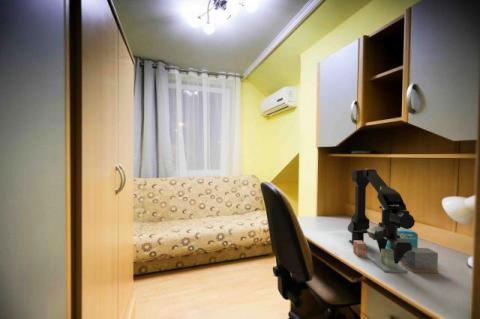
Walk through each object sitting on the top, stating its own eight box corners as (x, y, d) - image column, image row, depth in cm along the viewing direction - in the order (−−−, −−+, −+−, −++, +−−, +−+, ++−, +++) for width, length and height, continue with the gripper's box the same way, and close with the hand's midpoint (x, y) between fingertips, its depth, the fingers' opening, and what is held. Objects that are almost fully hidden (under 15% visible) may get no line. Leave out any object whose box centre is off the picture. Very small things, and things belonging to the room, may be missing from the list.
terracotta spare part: (353, 252, 109) (353, 240, 109) (361, 252, 109) (361, 240, 109) (357, 256, 105) (357, 243, 105) (366, 256, 105) (366, 243, 105)
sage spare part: (380, 262, 97) (381, 248, 97) (390, 262, 97) (390, 249, 97) (386, 267, 93) (387, 252, 93) (396, 267, 93) (396, 252, 93)
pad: (371, 261, 99) (371, 259, 99) (392, 262, 99) (392, 260, 99) (384, 272, 90) (384, 270, 90) (407, 272, 90) (407, 270, 90)
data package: (388, 255, 107) (389, 230, 107) (384, 251, 111) (385, 227, 111) (417, 258, 104) (418, 232, 104) (412, 254, 108) (412, 229, 108)
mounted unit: (401, 264, 97) (401, 245, 97) (424, 265, 97) (425, 246, 97) (413, 272, 90) (413, 252, 90) (438, 273, 90) (439, 253, 90)
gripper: (358, 215, 104) (358, 249, 104) (384, 228, 85) (383, 268, 86) (383, 216, 104) (382, 249, 104) (413, 228, 85) (412, 269, 85)
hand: (388, 258), depth 95 cm, fingers open, 9 cm apart
